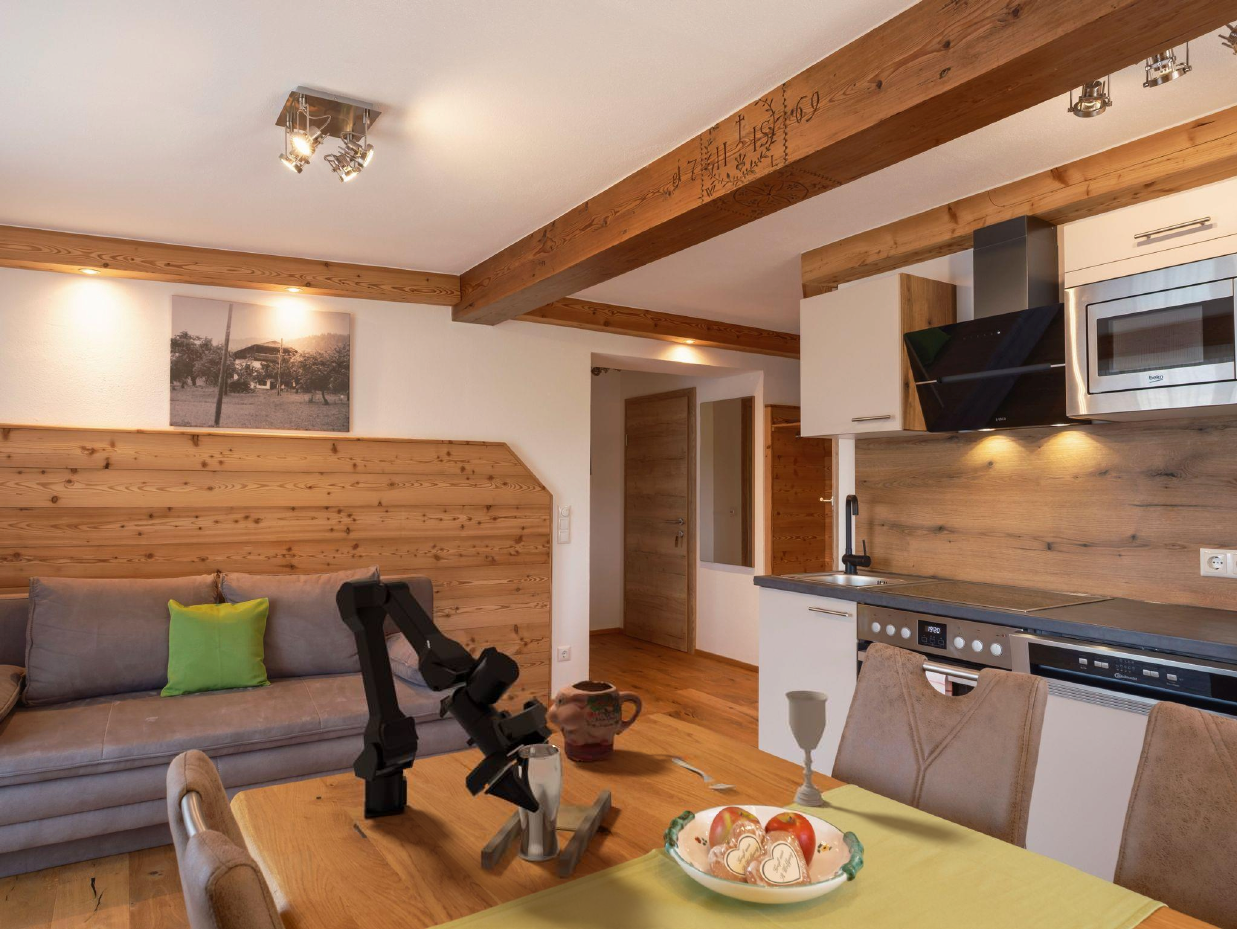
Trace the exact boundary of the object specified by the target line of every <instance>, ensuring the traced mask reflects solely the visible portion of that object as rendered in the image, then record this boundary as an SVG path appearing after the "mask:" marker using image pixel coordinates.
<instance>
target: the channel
mask: <svg viewBox="0 0 1237 929" xmlns="http://www.w3.org/2000/svg"><path fill="white" fill-rule="evenodd" d="M591 806H592V807H591V809H590V810H589V812H588V813H587V815H586V816H585V818H584V819H583V821H582V822H581V824H580V825H579V827H578V829H577V830H576V831H575V832H574V833H573V835H572V836H571V837H570V839H569V841H568V843H567V844H566V845H565V847H564V849H562V852H561V853H560V855H559V856H558V857H557V877H558V878H559V877H560V878H570V876H571V874H572V872H573V871H574V869H575V867H576V865H577V864H578V862H579V861H580V859H581V858H582V855H583V854H584V852H585V851H586V848H587V847H588V846H589V844H590V842H591V840H592V839H593V837H594V835H595V834H596V832H597V831H598V829H599V827H600V825H601V824H602V822H603V820H604V819H605V817H606V815H607V814H608V811H609V810H610V808H611V807H612V790H607V789H602V790H601V792H600V793H599V795H598V797H597V798H596V800H595V801H594V802H593V804H592V805H591ZM521 830H522V829H521V819H520V813H519V808H517V809H516V810H515V812H514V813H513V814H512V815H511V816H510V817H509V818H508V819H507V821H506V822H505V823H504V824H503V825H502V826H501V828H500V829H499V830H498V831H497V832H496V833H495V834H494V836H493V837H492V838H491V839H490V840H489V841H488V843H487V844H485V846H484V847H483V848H482V849H481V850H480V870H492V869H493V868H494V867H495V866H496V864H497V863H498V862H499V860H500V859H501V858H502V857H503V855H505V853H506V852H507V850H508V849H509V848H510V847H511V846H512V845H513V843H514V842H515V841H516V839H517V838H518V837H519V836H520V835H521Z"/></svg>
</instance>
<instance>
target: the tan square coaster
mask: <svg viewBox="0 0 1237 929" xmlns="http://www.w3.org/2000/svg"><path fill="white" fill-rule="evenodd" d="M592 806H593V805H580V804H569V803H560V806H559V812H558V818H557V830H563V831H575V832H576V830H577V829H578V827H579V825H580V824H581V822H582V821H583V819H584V818H585V816H586V815H587V813H588V812H589V810H590V809H591V807H592Z"/></svg>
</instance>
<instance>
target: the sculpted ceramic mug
mask: <svg viewBox="0 0 1237 929" xmlns="http://www.w3.org/2000/svg"><path fill="white" fill-rule="evenodd" d="M626 702H631V703H632V704H634V707H635V711H634V713H633V714H632V716H631V717H630V718H629V719H628V720H623V719H622V718H623V711H622V710H623V705H624V704H625V703H626ZM642 708H643V702H642V700H641V697H640V695H638V694H637V693H635V692H632V691H628V690H626V691H618V688H617V687H616V686H615V685H613V684H611V683H607V682H603V681H592V680H582V681H578V682H574V683H572V684H569V685H568V686H565V687H563V688H561V689H559V691H558V692H557V693H556V696H555V697H554V703H553V704H552V706H550V708H549V709H548V710H547V718H548V720H549V722H550V723H551V724H553V725H554V726H556V727H557V728H558V729H559V730H560V732H561V734H562V736H563V740H564V747H563V748H564V750H563V752H564V753H565V756H567V757H568V758H570V759H572V760H575V761H579V760H581V761H580V762H593V761H592V760H598V761H602V760H601V759H604V760H607V759H609V758H610V757H612V754H613V751H614V743H615V736H620V735H622V734H623V732H624V731H626V730H628V729H629V728H631V726H632V725H633V724H634V723H635V722H636V720H637V719H638V717H639V716H640V713H641V712H642ZM608 757H609V758H608ZM606 758H607V759H606Z"/></svg>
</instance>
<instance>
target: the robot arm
mask: <svg viewBox="0 0 1237 929" xmlns="http://www.w3.org/2000/svg"><path fill="white" fill-rule="evenodd" d="M336 591H337V592H336V595H335V603H336V605H337V607H338V611H339V615H340V619H341V621H342V622H343V623H344V625H346V627H347V628H349V630H350V631H351V632H352V633H353V636H354V640H355V645H356V651H357V656H358V661H359V666H360V668H359V669H360V671H361V678H362V683H363V687H364V688H363V689H364V694H365V699H366V704H367V711H368V714H369V715H368V716H369V717H368V721H367V723H366V726H365V729H364V731H363V732H364V733H363V736H362V737H363V747H364V748H363V750H362V751H361V752H360V754H359V755H358V756H357V758H356V759H355V760H354V761H353V763H352V767H353V772H354V776H355V777H356V778H359V779H362V780H364V803H363V805H364V806H363V816H364V818H372V817H373V818H374V817H379V816H380V817H381V816H387V815H396V814H403V813H405V806H407V805H408V779H407V776H406V775H404V770H408V769H412V768H413V767H414V763H415V758H416V755H417V752H418V749H419V745H418V740H420V738H419V735H418V734H417V729H416V721H415V719H414V716H412V715H410V716H407V715H406V714H405V713H404V712H403V711H402V710H401V709H400V706H399V701H398V694H397V691H396V690H397V689H396V686H395V680H394V679H395V678H394V675H393V670H392V665H391V659H390V654H389V651H388V650H389V649H388V645H387V639H386V638H387V637H386V635H385V634H386V633H385V629H384V625H385V622H386V619H387V617H388V616H389V618H390V619H391V620H392V622H393V623H394V624H395V625H396V627H397V628H398V630H399V631H400V632H401V633H402V635H403V636H404V638H405V639H406V640H407V642H408V643H409V645H410V646H411V648H412V649H413V650H414V652H415V654H416V655H417V657H418V658H417V659H418V663H417V664H418V665H417V669H418V671H419V673H420V676H421V677H422V679H423V680H424V682H425V684H426V686H427V687H428V689H429V690H430V691H432V692H434V693H435V692H436V693H437V692H438V693H440V692H444V691H449V690H452V689H455V688H456V689H455V690H454V691H453V693H452V694H447V695H446V696H445V697H443V698H441V699H440V700H439V702H440V704H439V705H440V708H439V717H440V719H443V718H445V717H446V716H448V715H450V714H451V716H452V717H453V718H454V719H455V721H456V723H457V724H458V725H459V726H460V727H461V729H463V731H464V732H465V733H466V735H467V736H468V737H469V739H468V740H467V741H466V742H465V743H466V744H467V745H468V747H469V748H472V747H474V746H476V747H477V748H478V750H479V751H480V752H481V754H482V755H483V756H484V758H483V759H482V760H481V761H480V762H479V763H478V764H477V766H475V767H474V768H473V770H471V771H470V773H468V775H466V776H465V789H467V791H468V792H469V793H470V794H471V796H472V797H474V798H475V797H476V796H477V795H479V794H480V793H481V792H483V791H484V790H485V789H486V785H488V786H489V787H488V788H487V789H486V790H485V791H484V792H483V794H484V795H486V796H487V795H491V796H494V797H496V798H499V799H502V800H504V801H506V802H508V803H511V804H514V805H515V806H517V807H518V806H520V807H522V808H524V809H526V810H528V811H530V812H533V813H536V812H537V811H538V810H539V806H538V804H537V802H536V800H535V799H534V797H533V796H532V794H531V793H530V791H529V790H528V788H527V787H526V785H525V784H524V782H523V781H522V779H521V778H520V776H519V764H518V761H517V751H518V749H520V748H522V747H524V746H528V745H533V744H549V743H550V741H549V738H550V737H551V736H552V735H553V731H552V730H551V729H550V727H549V726H548V725H547V724H548V723H549V722H548V720H547V717H546V714H547V713H548V708H547V706H545V705H544V704H543V702H542V701H540V700H538V699H537V697H535V698H531V699H529V700H528V701H526V702H524V703H523V705H522V706H523V709H522V710H520V711H519V712H517V713H515V714H513V715H512V713H511V712H510V711H508V709H507V710H506V709H503V710H501V711H499V710H498V709H497V707H496V706H495V704H496V703H498V702H499V701H501V699H502V698H503V697H504V695H505V694H506V693H507V692H508V691H509V690H510V688H511V687H512V686H513V685H514V684H515V683H516V682H517V680H518V679H519V677H520V668H519V665H518V663H517V661H516V660H515V659H512V657H510V656H509V655H508V654H506V653H504V652H501V651H498V649H497V648H496V646H495V645H494V646H489V647H485V648H484V649H482V651H481V652H480V654H479V656H478V657H477V658H475V657H473V656H472V654H471V653H470V652H469V651H468V650H467V649H466V647H464V646H463V645H462V644H460V642H458V641H457V640H454V639H452V638H450V637H448V636H445V635H444V634H443V632H441V631H440V629H439V628H438V627H437V625H436V624H435V622H433V620H432V618H431V617H430V616H429V615H428V613H427V612H426V611H425V610H424V608H423V607H422V606H421V605H420V603H419V601H417V599H416V598H415V597H414V595H413V594H412V592H411V590H410V587H409V584H408V583H407V582H406V581H404V580H401V579H400V580H390V581H382V580H380V579H379V578H369V579H362V580H361V579H360V580H352V581H351V580H350V581H345V582H343V583H342V584H341V585H340V587H339V589H338V590H336ZM549 745H550V744H549ZM516 761H517V762H516ZM513 762H514V763H513ZM512 763H513V764H512Z"/></svg>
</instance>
